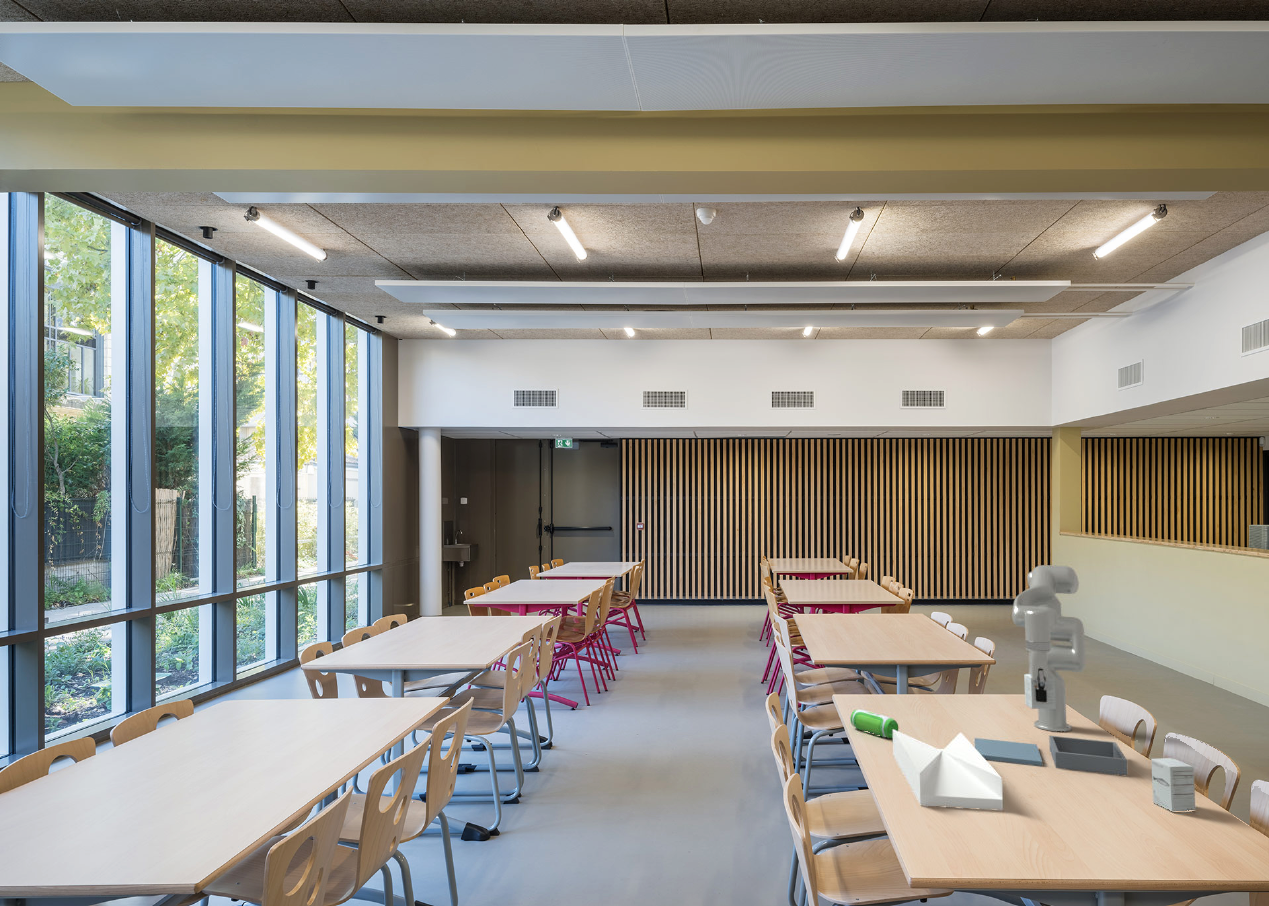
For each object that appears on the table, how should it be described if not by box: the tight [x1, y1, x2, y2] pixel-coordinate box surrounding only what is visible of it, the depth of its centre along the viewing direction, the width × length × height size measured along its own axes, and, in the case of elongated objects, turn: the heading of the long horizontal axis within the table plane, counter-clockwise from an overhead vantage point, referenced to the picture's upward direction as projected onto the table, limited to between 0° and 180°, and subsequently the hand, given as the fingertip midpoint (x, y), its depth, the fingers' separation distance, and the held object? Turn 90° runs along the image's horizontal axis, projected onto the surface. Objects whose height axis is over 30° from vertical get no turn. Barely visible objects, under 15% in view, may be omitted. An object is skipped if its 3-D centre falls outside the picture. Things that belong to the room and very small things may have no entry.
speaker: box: [850, 709, 899, 739], centre depth 292 cm, size 18×7×8 cm, turn 32°
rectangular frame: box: [1048, 735, 1129, 776], centre depth 258 cm, size 20×20×5 cm
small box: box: [1023, 673, 1056, 710], centre depth 265 cm, size 8×6×10 cm
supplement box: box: [1150, 757, 1196, 812], centre depth 220 cm, size 7×7×13 cm
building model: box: [892, 729, 1004, 811], centre depth 241 cm, size 45×22×10 cm, turn 171°
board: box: [974, 737, 1043, 767], centre depth 267 cm, size 20×20×2 cm
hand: (1040, 698), depth 264 cm, fingers closed on small box, 6 cm apart
